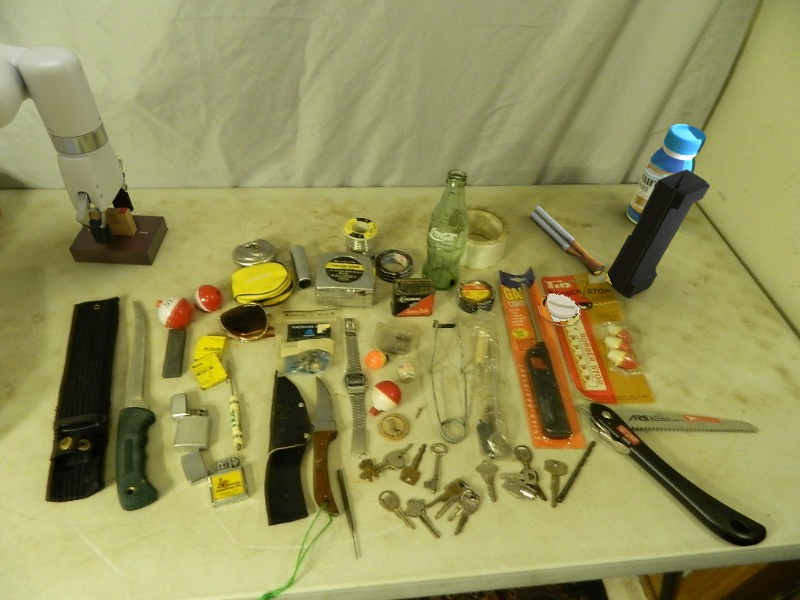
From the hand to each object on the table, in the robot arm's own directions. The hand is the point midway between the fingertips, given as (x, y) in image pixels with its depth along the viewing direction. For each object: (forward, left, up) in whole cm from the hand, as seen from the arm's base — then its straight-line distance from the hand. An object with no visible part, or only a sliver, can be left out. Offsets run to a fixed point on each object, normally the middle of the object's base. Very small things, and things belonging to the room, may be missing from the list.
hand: (115, 225), depth 93 cm
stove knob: (+78, -12, -5) cm, 79 cm away
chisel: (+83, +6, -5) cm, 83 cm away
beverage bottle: (+103, +16, -5) cm, 104 cm away
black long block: (+93, -4, -5) cm, 93 cm away
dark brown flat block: (0, 0, -4) cm, 4 cm away
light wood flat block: (0, 0, -1) cm, 1 cm away
